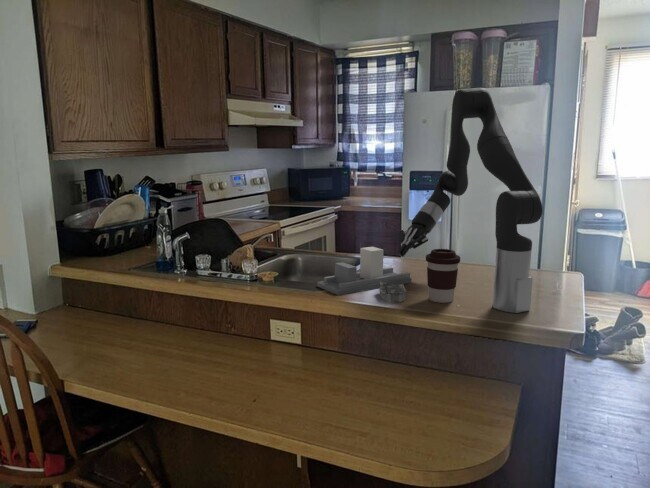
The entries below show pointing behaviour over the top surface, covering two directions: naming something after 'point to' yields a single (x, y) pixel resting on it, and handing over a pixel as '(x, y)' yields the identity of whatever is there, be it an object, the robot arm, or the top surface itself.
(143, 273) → the top surface
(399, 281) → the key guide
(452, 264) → the coffee cup
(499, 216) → the robot arm
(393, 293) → the egg carton
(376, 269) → the block
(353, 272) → the grey rectangular block
